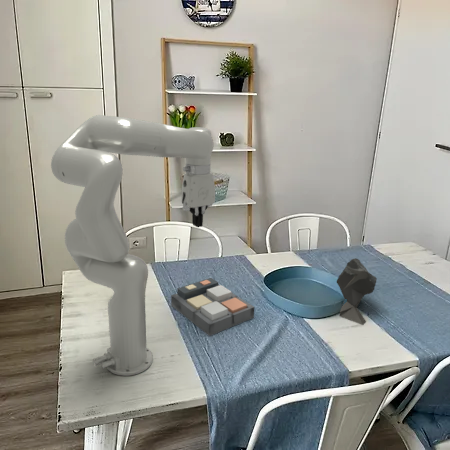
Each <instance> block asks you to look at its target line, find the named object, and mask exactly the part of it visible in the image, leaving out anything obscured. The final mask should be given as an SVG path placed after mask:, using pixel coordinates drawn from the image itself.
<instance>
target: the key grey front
mask: <svg viewBox="0 0 450 450" xmlns="http://www.w3.org/2000/svg"><path fill="white" fill-rule="evenodd" d="M201 314H203V315H204V316H205V317H207V318H208V319H209V320H211V321H215V320H217V319H220V318H222V317H225V316H227V315H228V309H227V308H226V307H224V306H223V305H221V304H220V303H218V302H217V301H215V302H212V303H209V304H207V305H204V306H201Z"/></svg>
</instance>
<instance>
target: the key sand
mask: <svg viewBox="0 0 450 450" xmlns="http://www.w3.org/2000/svg"><path fill="white" fill-rule="evenodd" d="M187 303H188V304H189V305H191V306H192V307H193V308H195V309H196V310H199V309H201V306H204V305H207V304H209V303H212V301H210V300H209V299H208V298H206V297H205V296H203V295H199V296H196V297H193V298H190V299H187Z"/></svg>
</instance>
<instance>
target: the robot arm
mask: <svg viewBox="0 0 450 450" xmlns="http://www.w3.org/2000/svg"><path fill="white" fill-rule="evenodd" d="M213 150H214V140H213V137H212V131H211V130H210V129H209V128H208V127H199V126H197V127H196V126H195V127H189V128H184V127H178V126H175V125H171V124H164V123H159V122H154V121H147V120H141V119H135V118H131V117H130V118H129V117H123V116H111V115H101V114H97V115H94V116H92V117H89V118H88V119H87V120H85V121H84V122H83V123H81V124H80V125H79V126H78V127H77V128H76V129H75V130H74V131H73V132H72V133H71V134H70V135H69V136H68V137H67V138H66V139H65V140H64V141H63V142H62V143H61V144H60V145H59V147H57V148H56V150H55V151H54V154H53V155H52V159H51V162H50V168H51V173H52V174H53V176H54V177H55V178H56V179H57V180H58V181H60V182H61V183H64V184H67V185H72V186H78V187H82V188H84V189H83V191H82V193H81V195H80V198H79V200H78V202H77V204H76V208H75V212H74V214H75V219H73V220H72V221H71V222H69V223H68V225H67V227H66V229H65V232H64V243H65V247H66V248H65V249H66V250H67V252H68V254H69V255H70V257H71V258H72V261H74V263H75V265H76V266H77V268H78V269H79V271H80V272H81V274H82V275H83V277H84V278H85V279H87V280H88V281H90V282H92V283H94V284H98V285H100V286H103V287H106V288H109V289H111V290H113V295H112V296H111V298H110V299H109V301H108V303H107V304H108V305H107V314H108V316H107V317H108V329H109V330H108V332H109V343H110V347H108V348H106V352H105V353H103V355H100V356H98V357H95V358H93V359H92V362H93V364H94V367H97V366H99V365H101V367H102V369H105V368H106V369H107V370H108V371H109V372H110V373H112V374H114V375H118V376H125V377H127V376H134V375H137V374H138V375H139V374H140V373H142V372H144V371H146V370H147V369H148V368H150V366H151V365H152V363H153V360H154V359H153V352H152V350H151V349H149V348H148V347H147V345H148V344H147V324H146V323H147V321H146V320H147V319H146V290H147V289H146V288H147V283H148V278H149V268H148V265H147V263H146V262H145V260H144V259H142V258H140V256H136V255H134V254H132V253H131V254H130V253H129V250H130V242H129V238H128V236H127V234H126V231H125V229H124V227H123V225H122V223H121V221H120V218H119V216H118V214H117V212H116V210H115V205H114V204H115V198H116V195H117V192H118V189H119V186H120V184H121V182H122V179H123V172H124V171H123V170H124V169H123V164H122V161H121V160H120V159H119V158H118V156H117V155H116V154H118V155H124V156H126V155H127V156H141V157H153V158H154V157H156V158H158V157H159V158H181V159H182V158H183V159H185V166H183V167H182V172H185V173H184V174H183V179H182V184H181V185H182V186H181V204H182V209H181V210H183V211H185V212H190V214H191V215H192V216H191V217H192V219H191V221H192V225H193V226H194V227H196V228H200V227H203V224H204V215H205V212H206V210H207V209H208V208H210V207H212V206H213V204H214V203H215V202H216V188H215V187H216V186H215V178H214V174H213V172H211V168H212V167H211V165H212V164H211V163H212V162H211V161H212V160H211V159H212V156H211V155H212V152H213Z"/></svg>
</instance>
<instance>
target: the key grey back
mask: <svg viewBox="0 0 450 450" xmlns="http://www.w3.org/2000/svg"><path fill="white" fill-rule="evenodd" d="M232 293H233V292H232V291H231V290H229V288H226V287H225V286H223V285H221V284H219V286H216V287H213V288H210V289H207V296H208V297H209V298H210V299H212V300H213V301H217V302H218V303H219V302H221V301H224V300H227V299H230V298H231V297H232Z"/></svg>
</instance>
